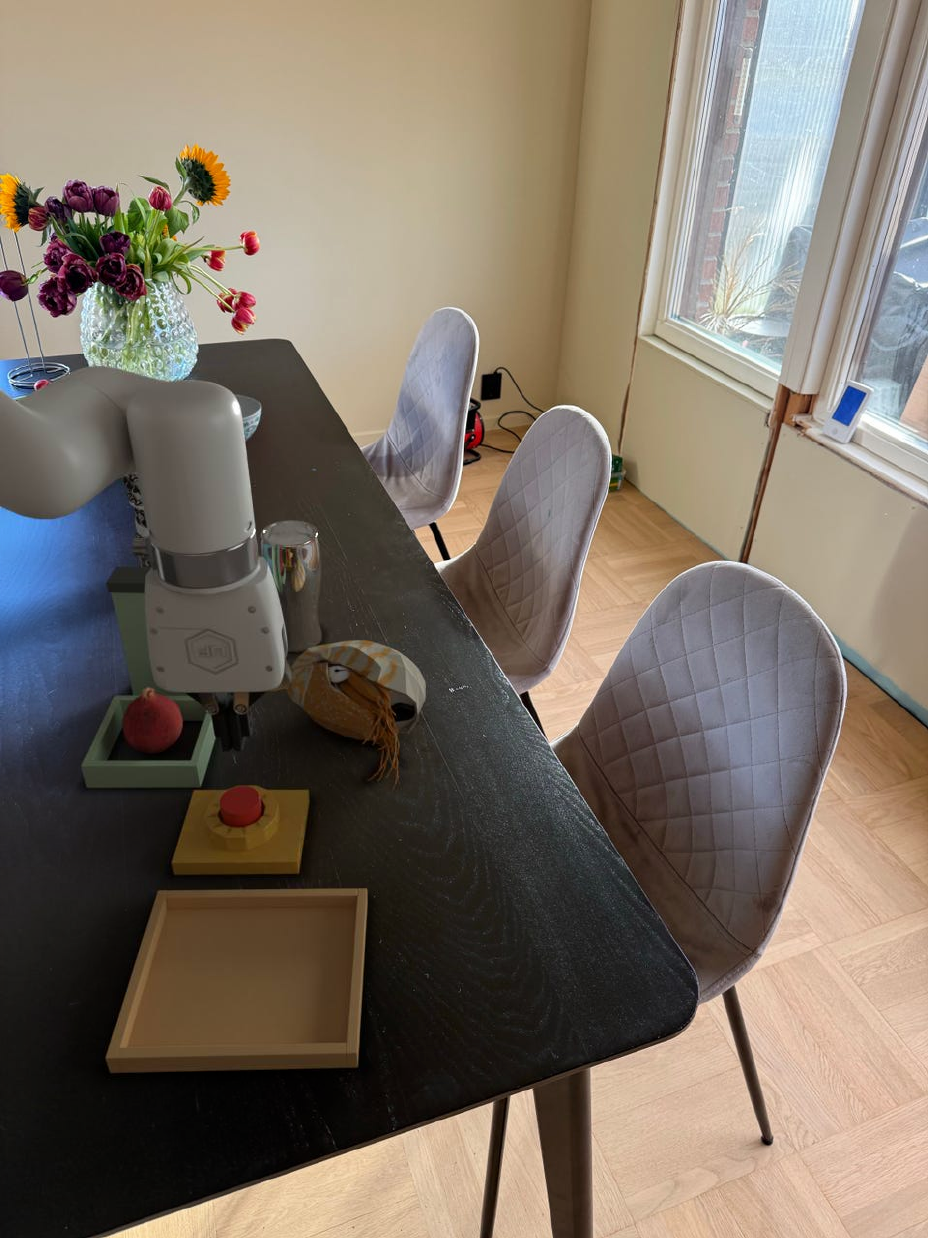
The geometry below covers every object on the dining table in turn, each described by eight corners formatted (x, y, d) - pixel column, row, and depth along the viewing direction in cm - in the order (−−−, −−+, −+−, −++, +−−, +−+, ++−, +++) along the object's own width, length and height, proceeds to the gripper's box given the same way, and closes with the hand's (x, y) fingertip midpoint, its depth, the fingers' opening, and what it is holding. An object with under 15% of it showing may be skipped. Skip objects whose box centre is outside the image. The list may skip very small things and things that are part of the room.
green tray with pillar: (86, 788, 84) (52, 664, 76) (136, 680, 99) (112, 566, 91) (200, 788, 85) (179, 665, 77) (233, 680, 100) (218, 567, 92)
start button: (218, 828, 77) (215, 814, 76) (225, 799, 80) (223, 785, 79) (258, 828, 77) (256, 814, 76) (264, 799, 80) (263, 785, 79)
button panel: (174, 875, 76) (168, 848, 74) (196, 802, 84) (191, 776, 82) (298, 874, 77) (296, 847, 75) (309, 802, 84) (307, 776, 82)
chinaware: (167, 444, 159) (160, 404, 155) (238, 427, 168) (234, 388, 164) (207, 469, 150) (201, 427, 146) (280, 450, 159) (277, 410, 155)
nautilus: (450, 794, 87) (301, 819, 84) (413, 661, 103) (287, 679, 101) (450, 738, 82) (291, 763, 79) (410, 608, 98) (279, 625, 96)
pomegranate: (181, 769, 87) (169, 708, 83) (122, 770, 87) (108, 709, 82) (191, 732, 92) (181, 672, 88) (136, 733, 92) (123, 673, 87)
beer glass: (324, 622, 111) (318, 518, 103) (326, 652, 105) (320, 545, 97) (269, 625, 110) (259, 520, 102) (268, 656, 104) (257, 548, 96)
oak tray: (110, 1074, 61) (105, 1058, 60) (161, 905, 73) (157, 890, 72) (357, 1068, 62) (356, 1053, 61) (367, 903, 74) (367, 888, 73)
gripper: (87, 578, 60) (135, 772, 70) (301, 578, 61) (318, 770, 71) (119, 529, 66) (158, 714, 76) (312, 530, 67) (327, 712, 77)
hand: (235, 740), depth 74 cm, fingers closed
